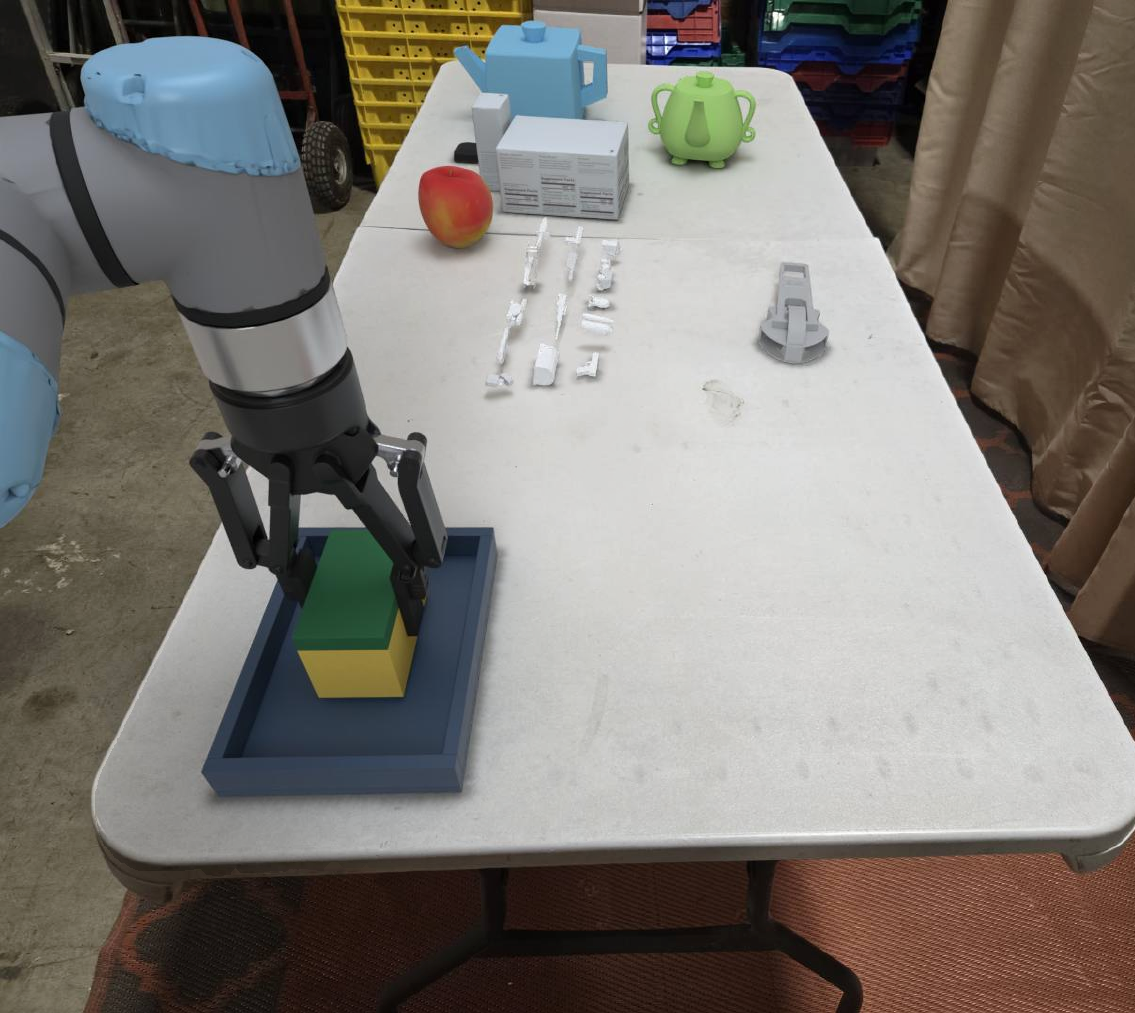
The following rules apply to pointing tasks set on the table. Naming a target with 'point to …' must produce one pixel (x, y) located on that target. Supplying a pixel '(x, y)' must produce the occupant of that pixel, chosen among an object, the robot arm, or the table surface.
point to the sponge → (354, 622)
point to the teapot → (702, 119)
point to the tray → (361, 724)
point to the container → (539, 70)
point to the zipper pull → (793, 320)
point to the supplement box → (563, 167)
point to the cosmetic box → (490, 133)
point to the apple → (455, 205)
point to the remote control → (466, 153)
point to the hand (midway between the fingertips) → (369, 621)
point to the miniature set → (547, 353)
